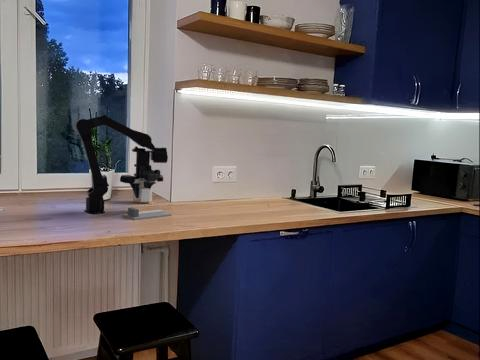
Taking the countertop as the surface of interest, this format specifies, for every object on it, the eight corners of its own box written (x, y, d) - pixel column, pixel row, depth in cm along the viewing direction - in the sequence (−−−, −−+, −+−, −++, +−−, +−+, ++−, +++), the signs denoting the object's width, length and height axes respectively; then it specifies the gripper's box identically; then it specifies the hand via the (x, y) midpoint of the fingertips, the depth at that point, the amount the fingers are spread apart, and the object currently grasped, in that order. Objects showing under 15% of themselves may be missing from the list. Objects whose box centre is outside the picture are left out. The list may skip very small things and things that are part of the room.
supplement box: (152, 202, 215) (153, 175, 213) (149, 204, 210) (150, 176, 209) (135, 200, 216) (136, 174, 214) (132, 202, 211) (133, 175, 209)
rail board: (134, 220, 176) (135, 211, 176) (123, 215, 182) (123, 207, 182) (171, 215, 189) (171, 207, 188) (159, 211, 195) (159, 203, 195)
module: (141, 201, 189) (141, 188, 188) (133, 199, 193) (134, 186, 192) (149, 201, 192) (149, 188, 191) (141, 198, 196) (142, 186, 195)
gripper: (134, 165, 178) (132, 202, 180) (171, 164, 191) (169, 199, 193) (119, 162, 186) (118, 198, 188) (156, 161, 199) (155, 195, 201)
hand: (141, 197), depth 192 cm, fingers closed on module, 4 cm apart
